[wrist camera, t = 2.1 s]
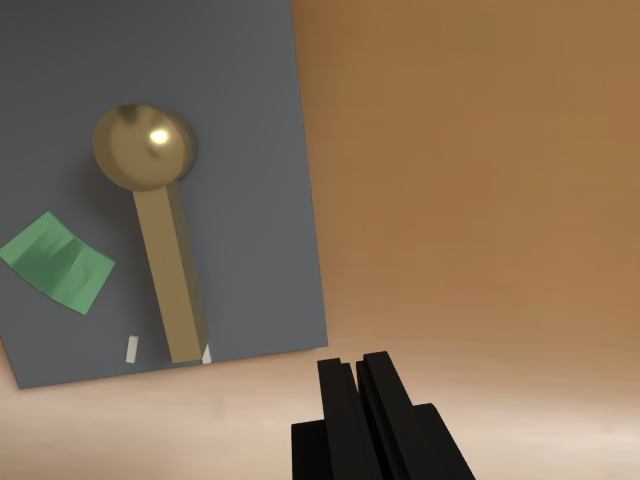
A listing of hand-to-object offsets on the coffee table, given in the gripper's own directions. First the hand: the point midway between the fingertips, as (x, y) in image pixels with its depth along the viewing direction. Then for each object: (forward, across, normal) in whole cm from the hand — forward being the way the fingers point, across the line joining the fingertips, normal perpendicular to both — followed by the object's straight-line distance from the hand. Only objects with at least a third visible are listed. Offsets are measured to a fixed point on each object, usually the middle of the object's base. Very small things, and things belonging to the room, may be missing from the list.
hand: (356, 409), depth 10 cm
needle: (+16, +8, -2) cm, 17 cm away
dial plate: (+17, +10, -5) cm, 20 cm away
